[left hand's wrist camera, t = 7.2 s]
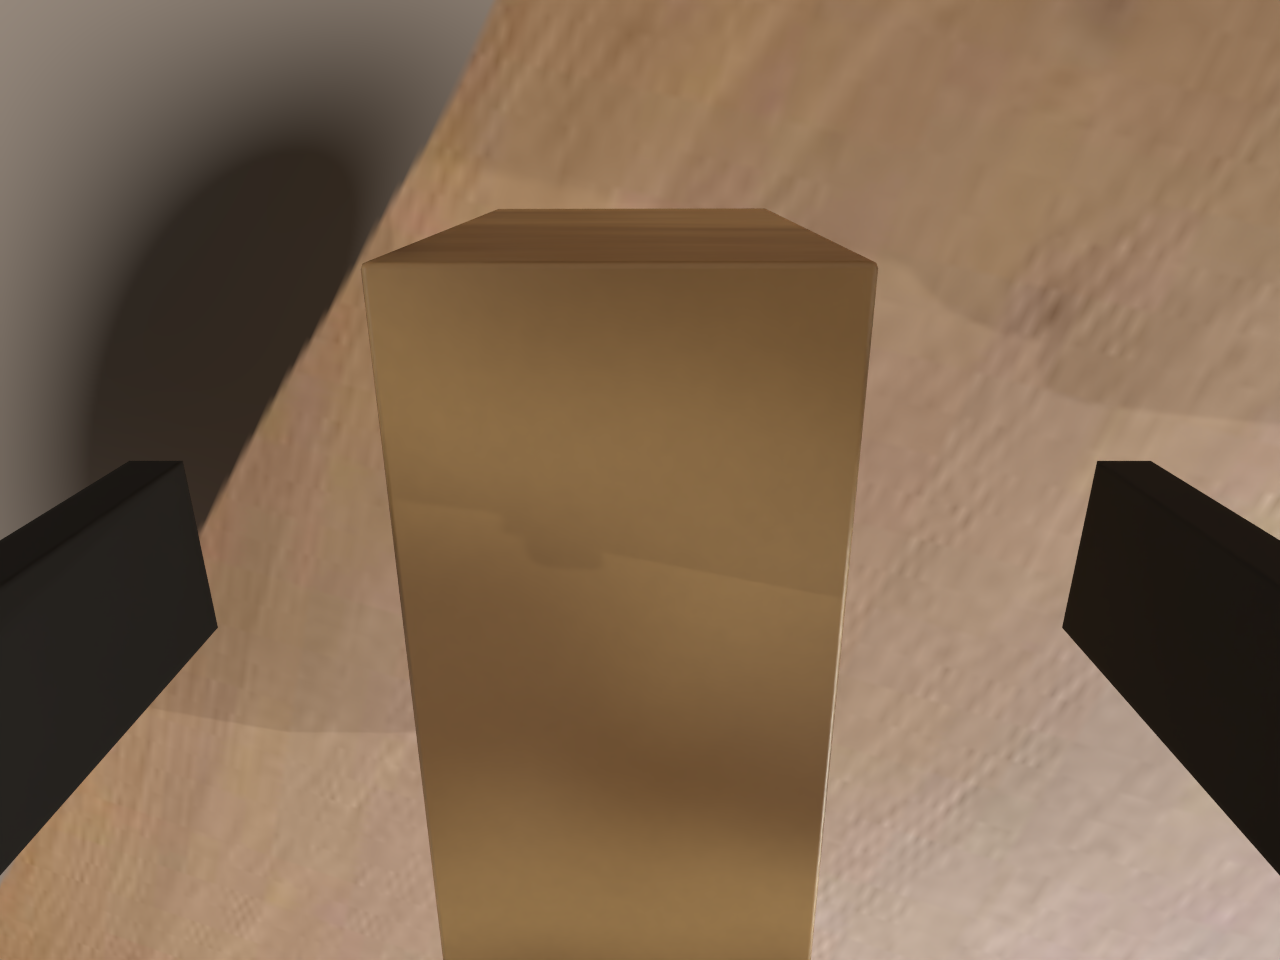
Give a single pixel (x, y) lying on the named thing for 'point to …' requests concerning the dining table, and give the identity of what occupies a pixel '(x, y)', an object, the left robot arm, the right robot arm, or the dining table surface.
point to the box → (623, 569)
